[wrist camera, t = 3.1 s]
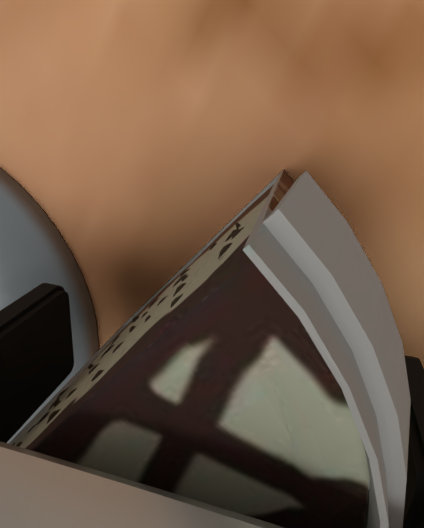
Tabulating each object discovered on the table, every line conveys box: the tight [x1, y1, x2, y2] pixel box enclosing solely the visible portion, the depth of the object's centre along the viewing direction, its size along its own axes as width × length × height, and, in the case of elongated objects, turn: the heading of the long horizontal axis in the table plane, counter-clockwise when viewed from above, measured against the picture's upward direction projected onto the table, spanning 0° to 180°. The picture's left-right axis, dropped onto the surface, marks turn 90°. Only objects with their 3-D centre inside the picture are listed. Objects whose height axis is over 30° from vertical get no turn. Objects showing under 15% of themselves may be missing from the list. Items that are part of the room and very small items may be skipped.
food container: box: [9, 170, 411, 528], centre depth 11 cm, size 12×6×10 cm, turn 136°
